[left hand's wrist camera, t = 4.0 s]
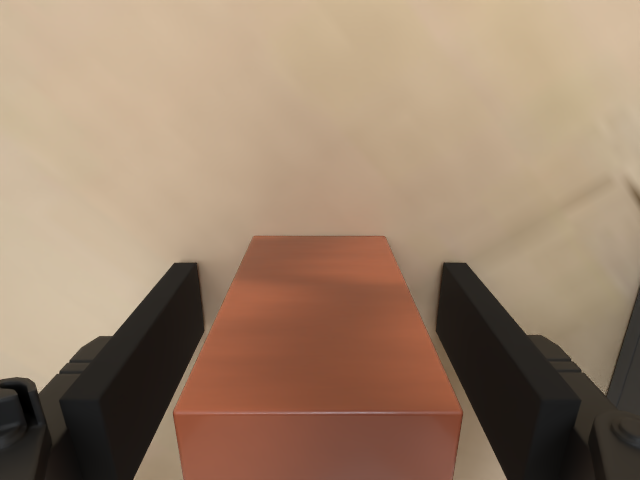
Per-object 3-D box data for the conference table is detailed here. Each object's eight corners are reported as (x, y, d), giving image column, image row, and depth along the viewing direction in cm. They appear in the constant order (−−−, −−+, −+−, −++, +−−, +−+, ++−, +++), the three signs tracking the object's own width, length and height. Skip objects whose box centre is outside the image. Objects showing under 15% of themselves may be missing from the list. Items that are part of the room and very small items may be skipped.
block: (259, 347, 15) (201, 597, 8) (253, 235, 14) (170, 411, 6) (378, 347, 15) (435, 597, 8) (385, 235, 14) (465, 412, 6)
